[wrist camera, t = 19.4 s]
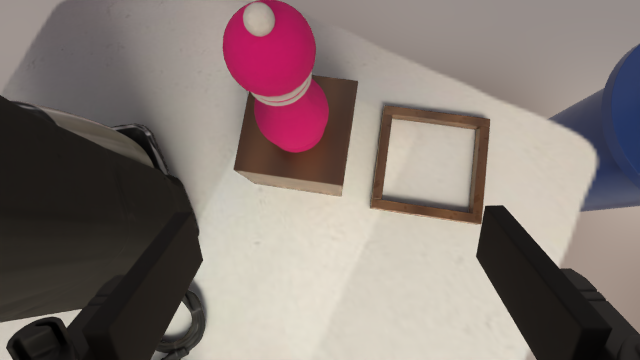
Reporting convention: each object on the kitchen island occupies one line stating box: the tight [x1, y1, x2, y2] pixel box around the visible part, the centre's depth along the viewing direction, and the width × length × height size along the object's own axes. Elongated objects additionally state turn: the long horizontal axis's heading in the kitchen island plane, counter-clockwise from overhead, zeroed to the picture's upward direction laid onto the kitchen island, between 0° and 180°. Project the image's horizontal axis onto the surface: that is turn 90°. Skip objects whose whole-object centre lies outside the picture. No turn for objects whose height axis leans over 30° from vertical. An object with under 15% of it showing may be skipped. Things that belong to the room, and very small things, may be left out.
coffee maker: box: [0, 95, 205, 360], centre depth 31 cm, size 23×32×34 cm
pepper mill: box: [223, 0, 329, 152], centre depth 29 cm, size 7×7×20 cm
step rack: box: [234, 75, 490, 224], centre depth 43 cm, size 30×14×10 cm, turn 81°
